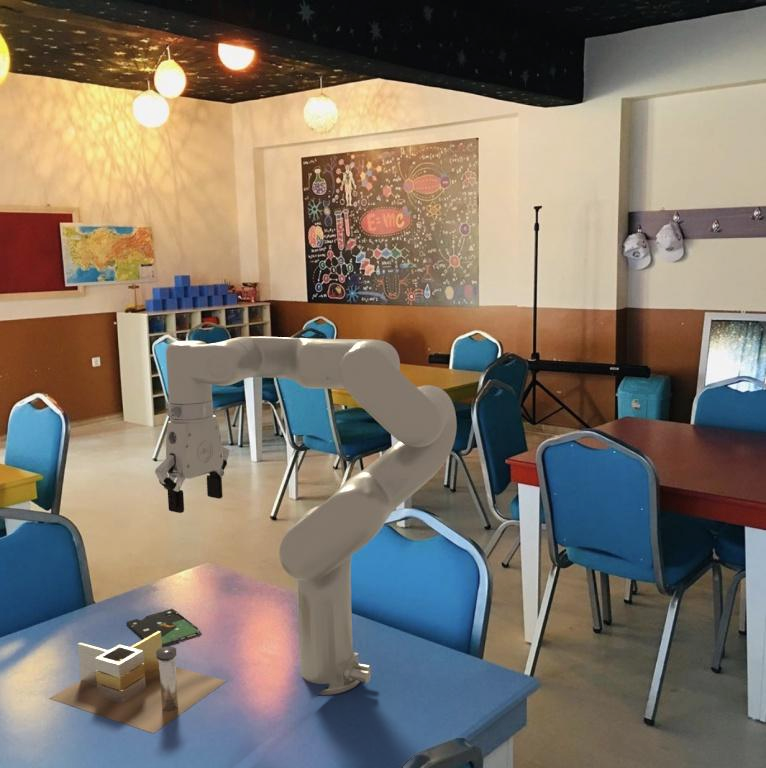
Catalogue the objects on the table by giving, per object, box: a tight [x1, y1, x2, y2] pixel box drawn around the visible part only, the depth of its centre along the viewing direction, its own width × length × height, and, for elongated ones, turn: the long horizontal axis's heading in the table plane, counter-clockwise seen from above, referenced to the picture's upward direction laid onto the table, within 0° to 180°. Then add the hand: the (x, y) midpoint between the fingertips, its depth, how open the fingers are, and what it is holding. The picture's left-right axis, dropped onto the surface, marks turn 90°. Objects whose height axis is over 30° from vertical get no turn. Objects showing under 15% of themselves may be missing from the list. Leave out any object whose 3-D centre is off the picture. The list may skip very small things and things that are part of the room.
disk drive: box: [126, 608, 203, 648], centre depth 168 cm, size 10×3×15 cm
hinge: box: [77, 631, 163, 704], centre depth 148 cm, size 13×13×7 cm
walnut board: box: [49, 666, 228, 734], centre depth 145 cm, size 24×18×2 cm
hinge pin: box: [156, 645, 178, 712], centre depth 138 cm, size 3×3×10 cm
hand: (196, 504), depth 150 cm, fingers open, 9 cm apart
